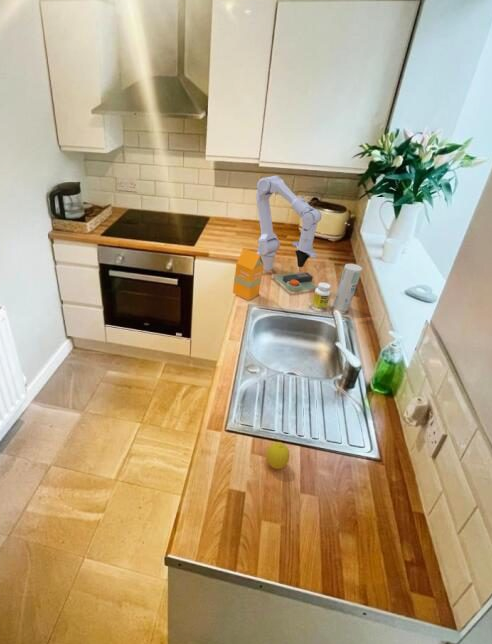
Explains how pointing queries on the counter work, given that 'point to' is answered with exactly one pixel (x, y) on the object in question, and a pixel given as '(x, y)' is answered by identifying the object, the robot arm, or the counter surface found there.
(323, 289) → the pill bottle
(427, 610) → the counter surface
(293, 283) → the power button
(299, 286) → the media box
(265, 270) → the robot arm
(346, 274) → the spray can
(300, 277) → the remote
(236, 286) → the orange juice
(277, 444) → the lemon
